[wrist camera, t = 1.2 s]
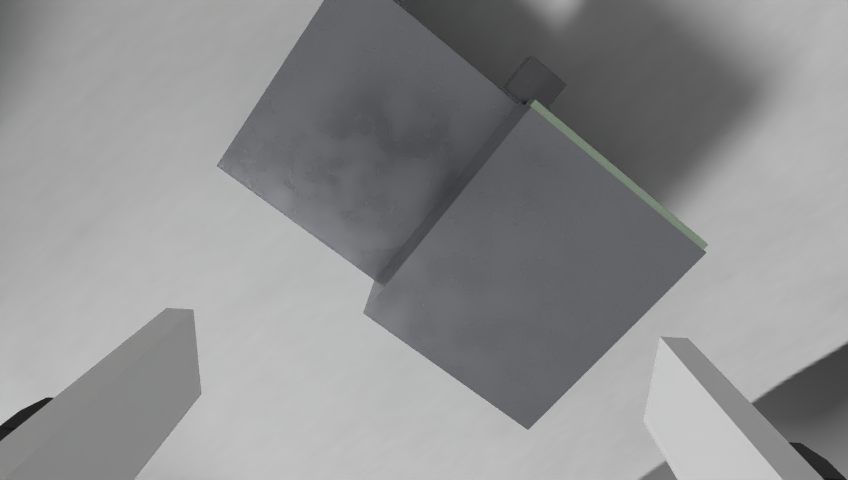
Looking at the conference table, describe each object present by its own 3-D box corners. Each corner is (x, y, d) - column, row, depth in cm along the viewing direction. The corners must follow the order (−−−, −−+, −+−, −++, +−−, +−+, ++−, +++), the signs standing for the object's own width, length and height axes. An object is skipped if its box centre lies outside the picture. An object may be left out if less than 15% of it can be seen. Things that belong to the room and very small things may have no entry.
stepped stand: (246, 155, 36) (176, 180, 26) (382, -50, 32) (357, -108, 22) (507, 346, 40) (528, 429, 30) (659, 184, 36) (738, 220, 26)
